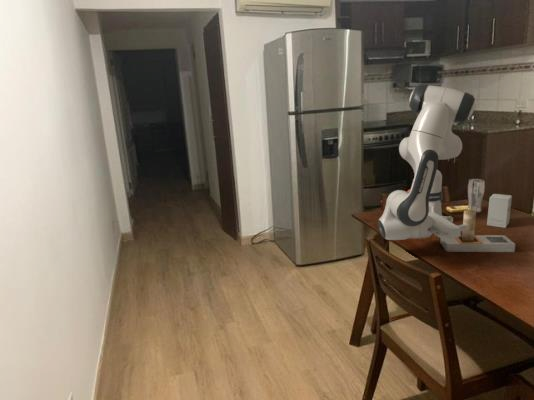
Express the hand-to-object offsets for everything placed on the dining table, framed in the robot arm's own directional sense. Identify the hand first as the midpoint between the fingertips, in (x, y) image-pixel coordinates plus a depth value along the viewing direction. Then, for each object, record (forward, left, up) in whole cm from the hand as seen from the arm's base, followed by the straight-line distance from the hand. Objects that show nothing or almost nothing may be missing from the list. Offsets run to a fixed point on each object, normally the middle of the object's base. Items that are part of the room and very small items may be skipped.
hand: (459, 222), depth 144 cm
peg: (+4, +1, -10) cm, 11 cm away
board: (+7, +1, -10) cm, 12 cm away
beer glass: (+21, +47, -10) cm, 53 cm away
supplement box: (+24, +27, -10) cm, 38 cm away
